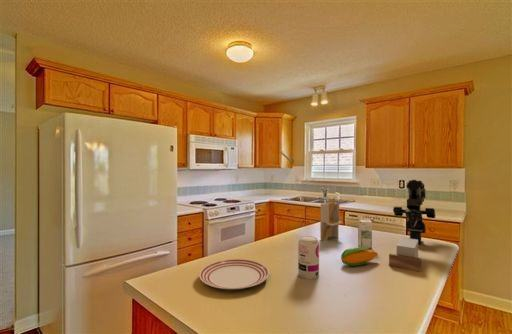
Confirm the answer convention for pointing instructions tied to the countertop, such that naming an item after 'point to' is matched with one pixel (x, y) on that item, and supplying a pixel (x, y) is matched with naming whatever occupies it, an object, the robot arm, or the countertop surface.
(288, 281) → the countertop surface
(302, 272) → the supplement can
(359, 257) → the corn
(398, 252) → the slab
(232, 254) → the countertop surface
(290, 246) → the countertop surface
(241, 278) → the dinner plate
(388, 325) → the countertop surface
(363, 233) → the syrup box
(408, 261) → the stop rail
